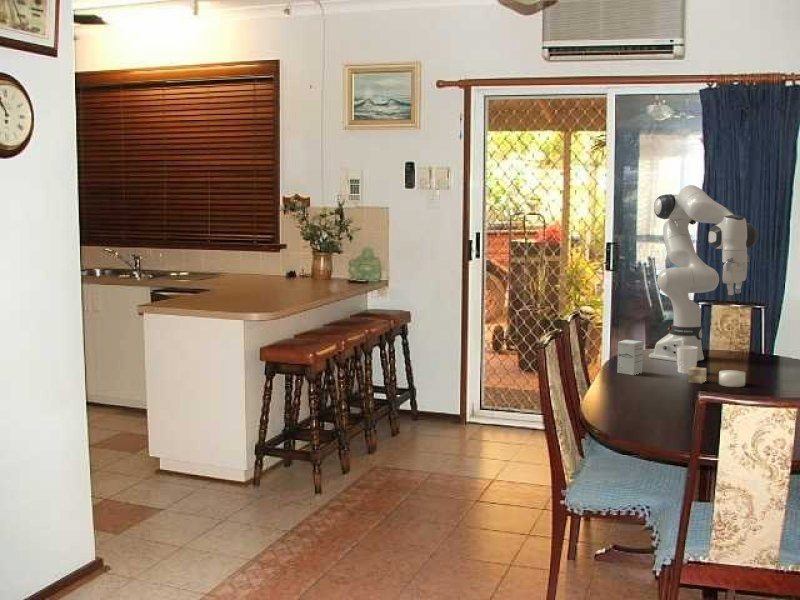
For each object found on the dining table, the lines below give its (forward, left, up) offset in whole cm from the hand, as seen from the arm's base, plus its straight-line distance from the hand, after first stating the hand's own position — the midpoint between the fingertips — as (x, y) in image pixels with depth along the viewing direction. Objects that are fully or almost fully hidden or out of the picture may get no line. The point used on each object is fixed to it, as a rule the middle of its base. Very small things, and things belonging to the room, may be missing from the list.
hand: (734, 294), depth 335 cm
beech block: (-7, -20, -31) cm, 38 cm away
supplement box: (-34, -18, -32) cm, 50 cm away
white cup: (-16, -5, -32) cm, 36 cm away
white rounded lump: (+5, -18, -31) cm, 37 cm away
